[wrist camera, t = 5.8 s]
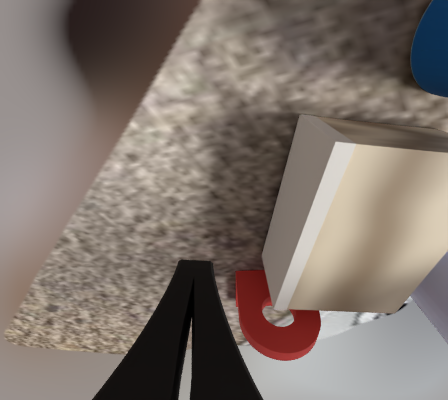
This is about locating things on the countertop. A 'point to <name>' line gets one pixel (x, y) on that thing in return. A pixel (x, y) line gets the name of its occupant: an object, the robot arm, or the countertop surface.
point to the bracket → (266, 332)
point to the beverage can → (432, 49)
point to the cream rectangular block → (380, 221)
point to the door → (303, 203)
